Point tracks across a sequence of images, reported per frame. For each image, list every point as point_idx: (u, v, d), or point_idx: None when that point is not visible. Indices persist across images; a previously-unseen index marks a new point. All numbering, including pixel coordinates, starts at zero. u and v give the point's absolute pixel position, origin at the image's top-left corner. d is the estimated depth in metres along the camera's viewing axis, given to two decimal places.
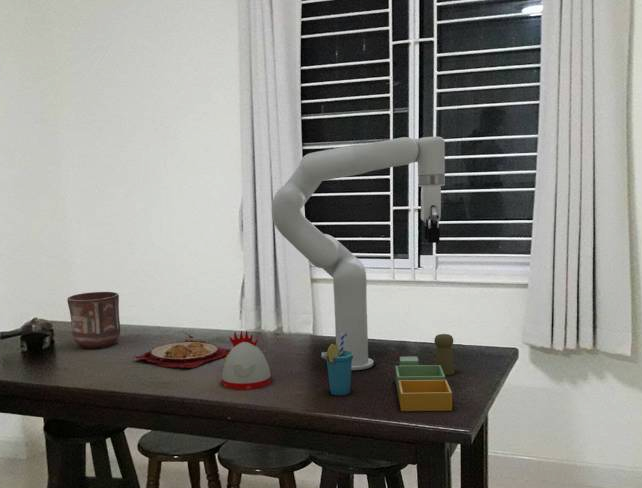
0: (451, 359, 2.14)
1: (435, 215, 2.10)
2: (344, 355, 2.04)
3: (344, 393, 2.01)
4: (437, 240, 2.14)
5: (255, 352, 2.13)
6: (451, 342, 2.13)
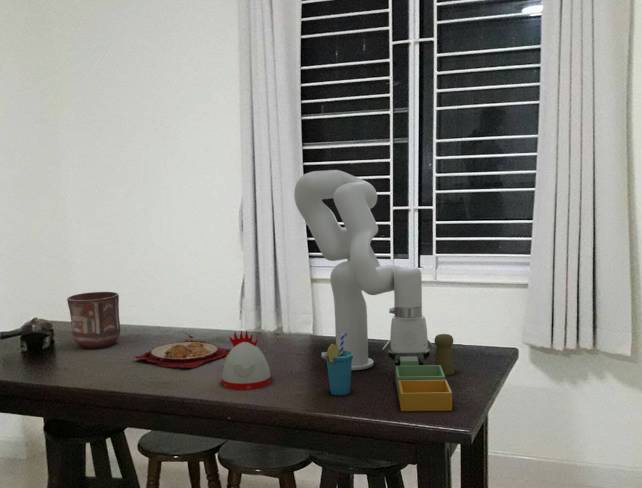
0: (451, 359, 2.14)
1: None
2: (344, 355, 2.04)
3: (344, 393, 2.01)
4: None
5: (255, 352, 2.13)
6: (451, 342, 2.13)
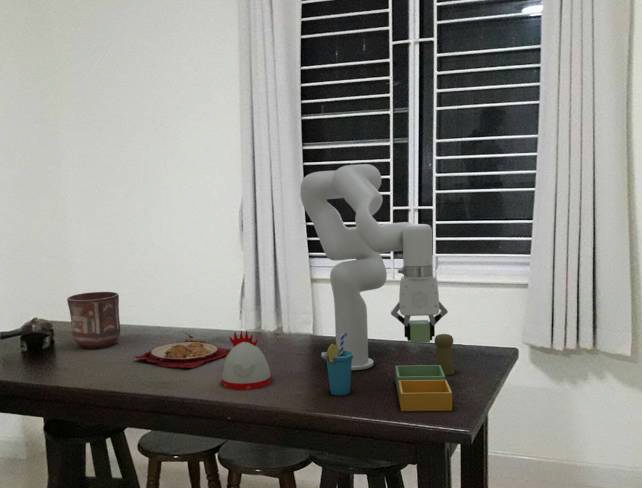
0: (451, 359, 2.14)
1: None
2: (344, 355, 2.04)
3: (344, 393, 2.01)
4: None
5: (255, 352, 2.13)
6: (451, 342, 2.13)
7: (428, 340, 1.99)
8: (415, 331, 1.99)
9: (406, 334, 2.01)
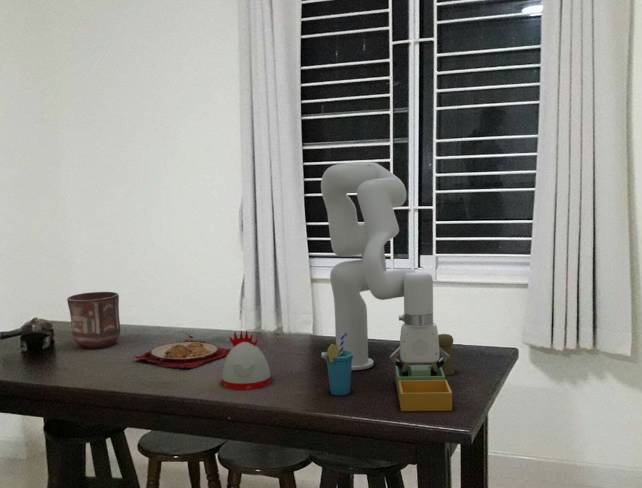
0: (451, 359, 2.14)
1: None
2: (344, 355, 2.04)
3: (344, 393, 2.01)
4: None
5: (255, 352, 2.13)
6: (451, 342, 2.13)
7: None
8: None
9: None
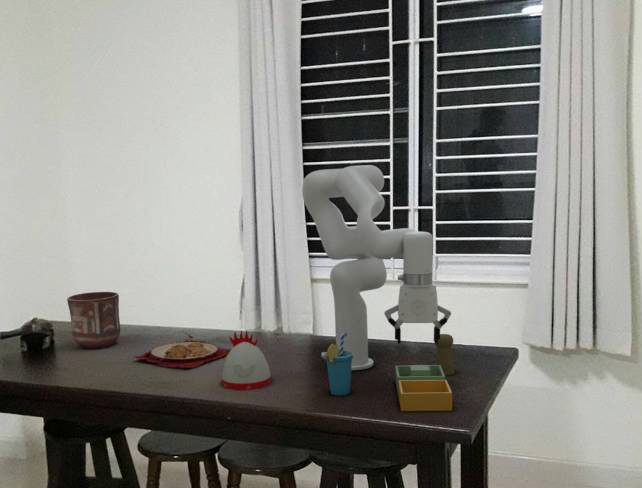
0: (451, 359, 2.14)
1: (450, 312, 2.00)
2: (344, 355, 2.04)
3: (344, 393, 2.01)
4: None
5: (255, 352, 2.13)
6: (451, 342, 2.13)
7: None
8: None
9: (396, 337, 2.02)
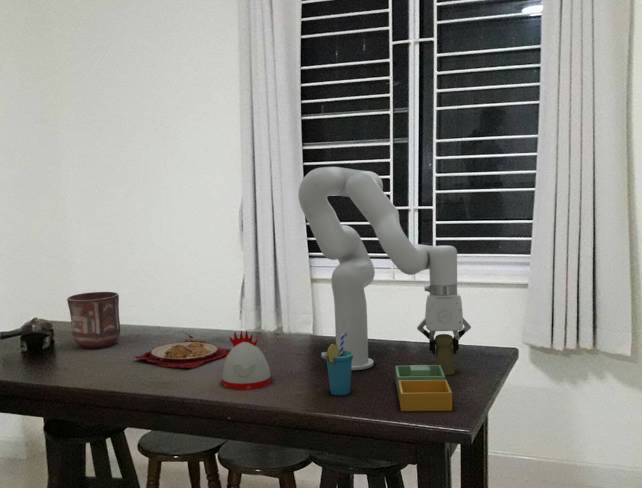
0: (451, 359, 2.14)
1: None
2: (344, 355, 2.04)
3: (344, 393, 2.01)
4: None
5: (255, 352, 2.13)
6: (451, 342, 2.13)
7: None
8: None
9: (431, 348, 2.15)
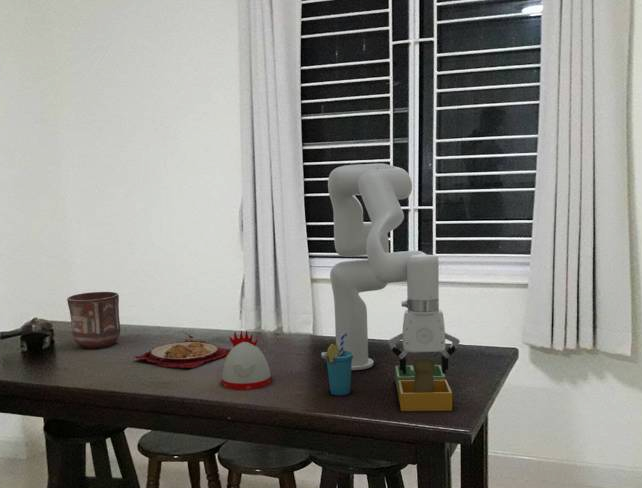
0: (432, 387, 1.88)
1: (458, 340, 1.87)
2: (344, 355, 2.04)
3: (344, 393, 2.01)
4: None
5: (255, 352, 2.13)
6: (432, 368, 1.87)
7: None
8: None
9: (401, 367, 1.89)
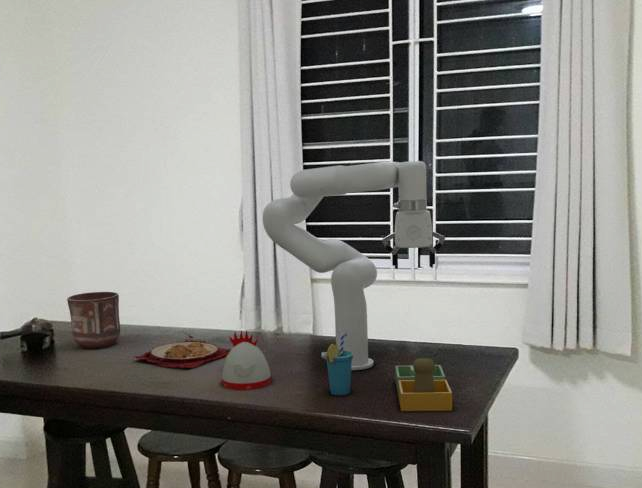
0: (432, 387, 1.88)
1: (444, 238, 2.11)
2: (344, 355, 2.04)
3: (344, 393, 2.01)
4: None
5: (255, 352, 2.13)
6: (432, 368, 1.87)
7: None
8: None
9: (394, 262, 2.13)
